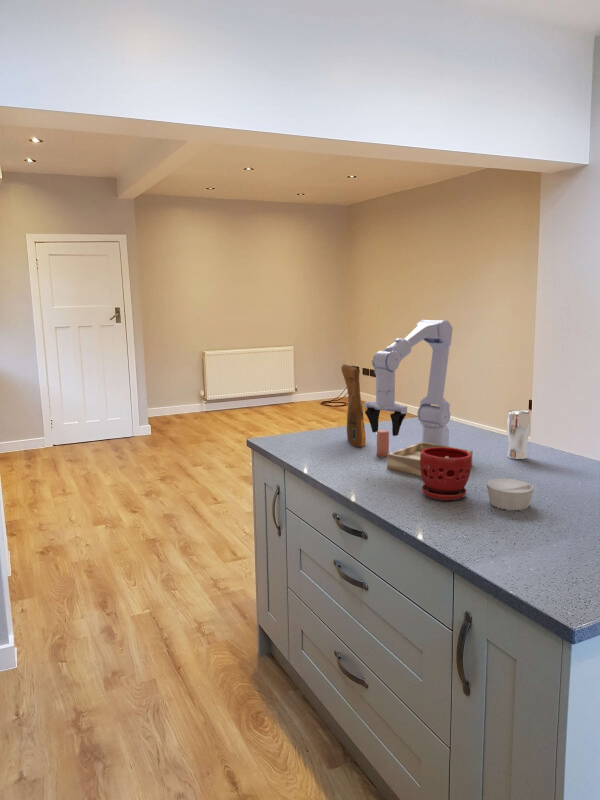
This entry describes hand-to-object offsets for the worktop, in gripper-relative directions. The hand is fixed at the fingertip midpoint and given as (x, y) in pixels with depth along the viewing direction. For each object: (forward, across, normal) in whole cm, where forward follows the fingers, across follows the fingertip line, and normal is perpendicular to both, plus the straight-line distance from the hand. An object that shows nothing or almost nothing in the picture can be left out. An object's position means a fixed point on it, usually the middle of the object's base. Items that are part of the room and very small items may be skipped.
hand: (385, 433), depth 190 cm
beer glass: (+10, +28, +34) cm, 45 cm away
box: (+10, +12, +7) cm, 17 cm away
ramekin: (+10, +45, -10) cm, 47 cm away
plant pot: (+10, +29, -14) cm, 33 cm away
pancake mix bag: (+10, -25, +18) cm, 32 cm away
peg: (+10, -7, +9) cm, 16 cm away
